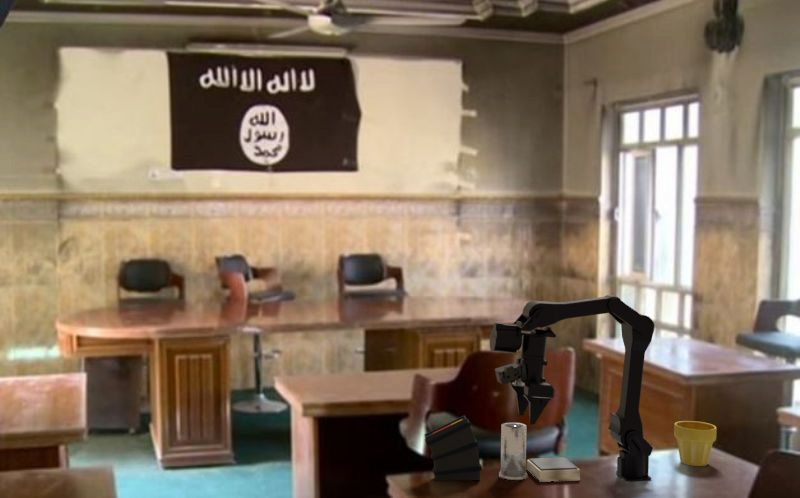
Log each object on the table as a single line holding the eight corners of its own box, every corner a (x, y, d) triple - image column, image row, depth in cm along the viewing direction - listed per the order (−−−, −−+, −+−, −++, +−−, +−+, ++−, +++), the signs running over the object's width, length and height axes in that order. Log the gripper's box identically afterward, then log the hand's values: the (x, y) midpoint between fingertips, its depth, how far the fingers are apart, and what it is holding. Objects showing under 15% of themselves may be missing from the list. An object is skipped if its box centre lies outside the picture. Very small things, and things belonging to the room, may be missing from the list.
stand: (565, 468, 226) (565, 456, 226) (579, 480, 216) (580, 468, 216) (526, 470, 224) (527, 458, 224) (539, 482, 214) (539, 469, 214)
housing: (522, 472, 222) (523, 421, 222) (531, 480, 216) (531, 428, 215) (495, 473, 221) (496, 422, 221) (503, 481, 215) (504, 429, 214)
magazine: (494, 474, 215) (467, 417, 214) (444, 498, 214) (417, 441, 213) (491, 469, 218) (465, 414, 217) (442, 493, 218) (416, 437, 217)
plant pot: (716, 459, 236) (717, 422, 235) (714, 470, 226) (715, 431, 226) (674, 455, 239) (675, 418, 239) (671, 465, 230) (672, 427, 229)
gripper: (490, 346, 222) (484, 409, 223) (510, 358, 204) (503, 427, 204) (534, 349, 224) (527, 412, 224) (558, 362, 206) (551, 430, 206)
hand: (526, 419), depth 215 cm, fingers open, 9 cm apart
